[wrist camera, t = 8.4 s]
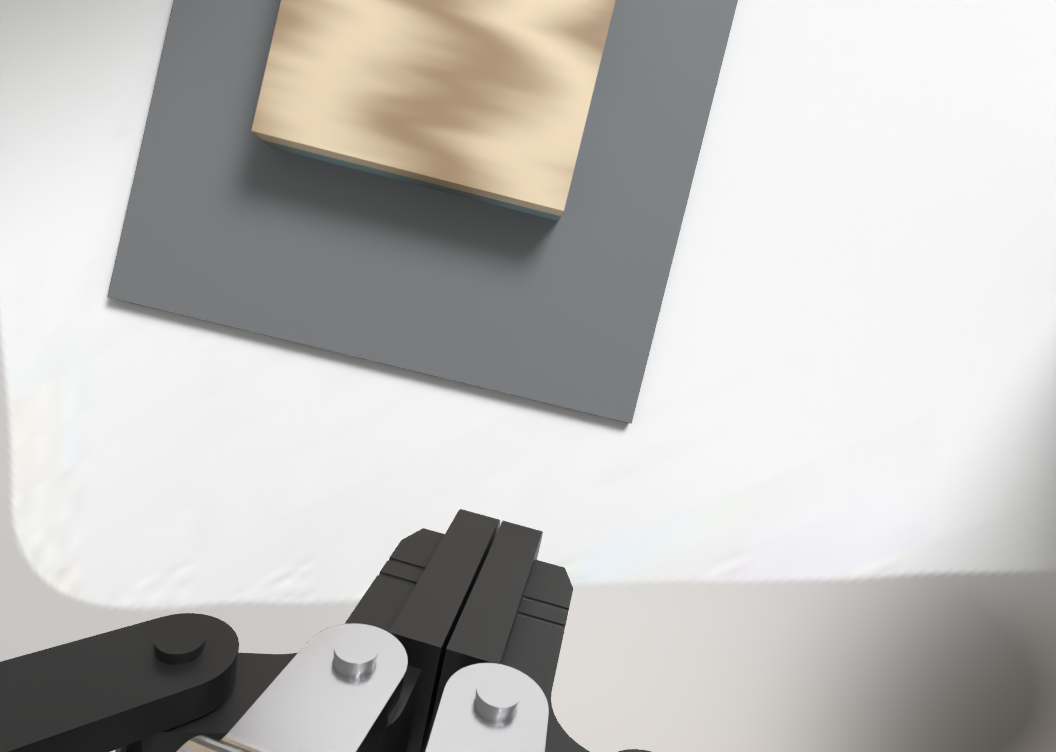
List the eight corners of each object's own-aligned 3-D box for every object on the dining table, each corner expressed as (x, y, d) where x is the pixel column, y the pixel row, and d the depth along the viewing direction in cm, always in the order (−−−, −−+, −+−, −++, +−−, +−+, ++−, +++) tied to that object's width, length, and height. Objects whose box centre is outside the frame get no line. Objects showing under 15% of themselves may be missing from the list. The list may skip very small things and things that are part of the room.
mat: (746, -43, 30) (749, -49, 30) (629, 422, 31) (631, 423, 31) (221, -190, 29) (217, -198, 29) (112, 297, 30) (107, 296, 30)
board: (558, 221, 30) (629, -67, 30) (564, 210, 28) (640, -103, 27) (271, 147, 30) (339, -148, 29) (251, 130, 27) (325, -192, 27)
